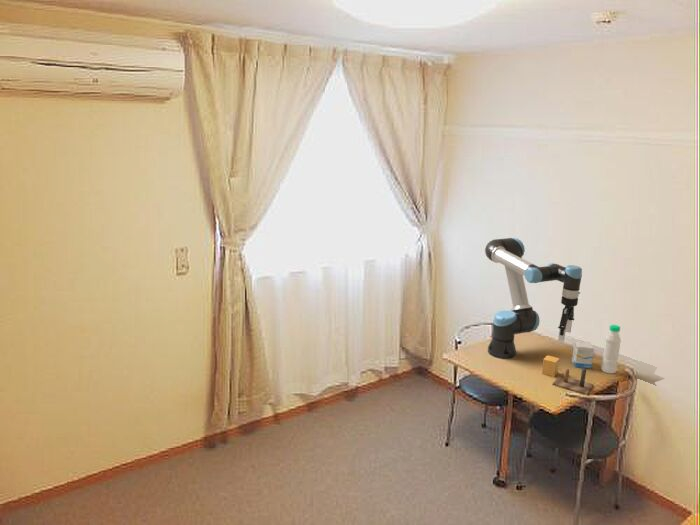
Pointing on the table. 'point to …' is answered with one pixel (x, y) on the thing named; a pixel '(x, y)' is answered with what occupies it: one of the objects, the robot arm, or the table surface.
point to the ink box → (582, 354)
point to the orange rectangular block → (550, 366)
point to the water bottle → (611, 350)
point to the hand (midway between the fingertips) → (564, 336)
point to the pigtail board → (573, 382)
